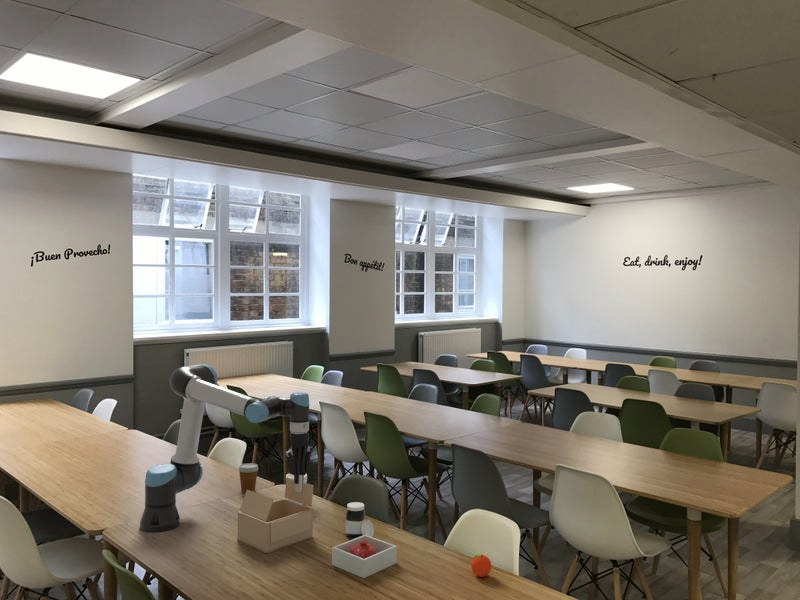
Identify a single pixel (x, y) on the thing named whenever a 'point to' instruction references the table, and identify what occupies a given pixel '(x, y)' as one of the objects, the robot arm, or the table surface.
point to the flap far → (300, 497)
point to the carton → (276, 526)
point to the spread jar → (357, 521)
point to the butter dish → (363, 550)
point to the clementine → (481, 565)
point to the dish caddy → (368, 565)
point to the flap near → (256, 505)
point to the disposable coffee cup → (248, 476)
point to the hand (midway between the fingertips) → (298, 491)
